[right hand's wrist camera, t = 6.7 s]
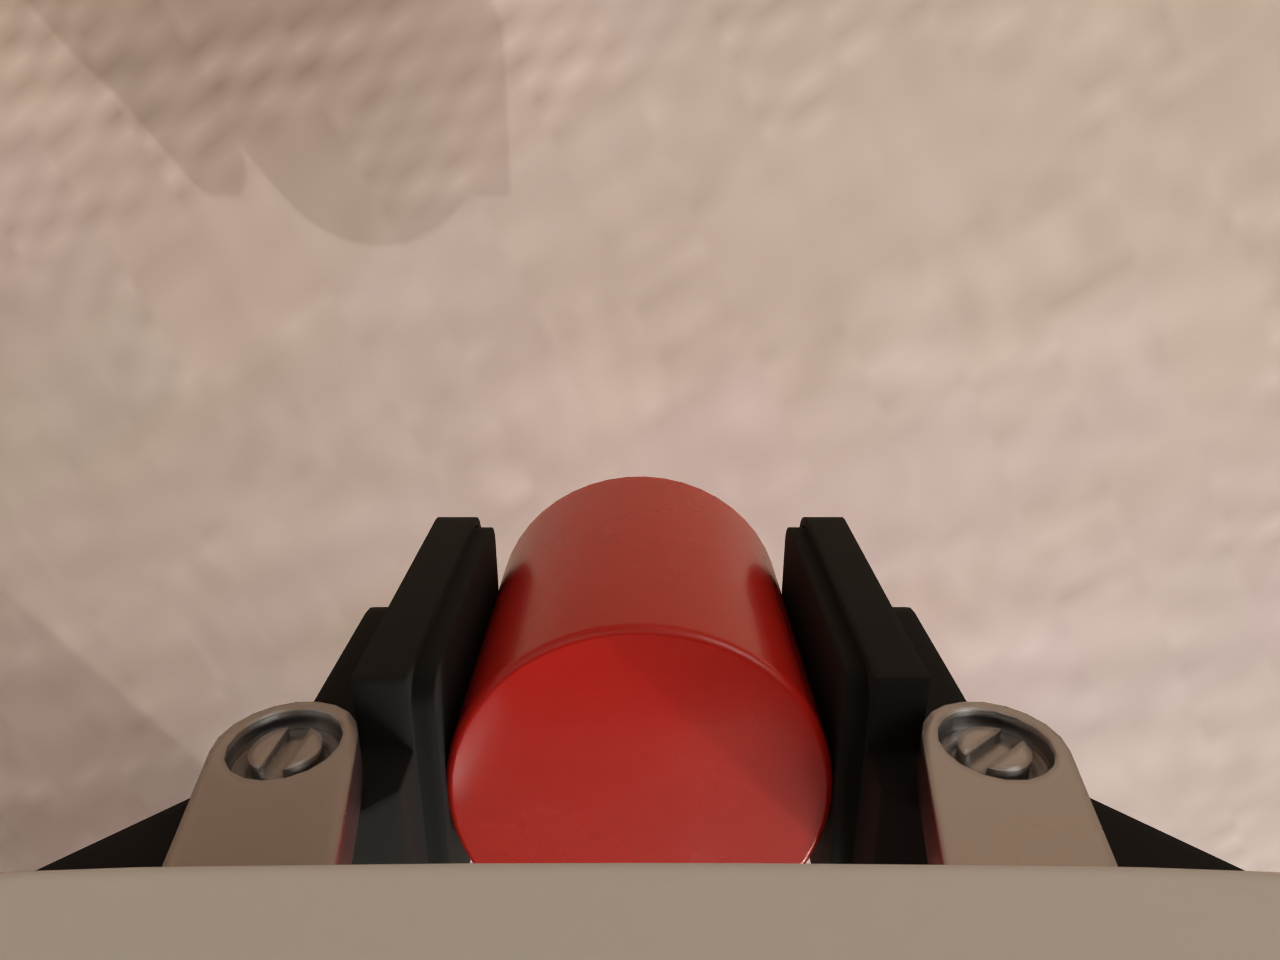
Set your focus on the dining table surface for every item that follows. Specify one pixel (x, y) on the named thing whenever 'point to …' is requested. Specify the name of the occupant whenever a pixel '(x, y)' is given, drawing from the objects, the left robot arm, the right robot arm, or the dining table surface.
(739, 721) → the red cylinder
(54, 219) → the dining table surface
